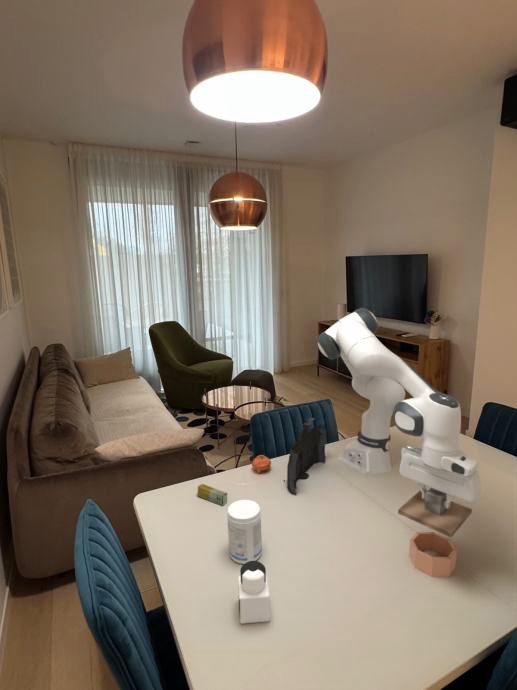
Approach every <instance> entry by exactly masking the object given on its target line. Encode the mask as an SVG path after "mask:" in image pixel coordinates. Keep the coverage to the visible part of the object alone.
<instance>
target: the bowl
mask: <svg viewBox="0 0 517 690" xmlns="http://www.w3.org/2000/svg"><path fill="white" fill-rule="evenodd" d="M408 550H409V551H408V556H409V558H410V561H411V563H412V565H413V567H414V569H416V570H418V571H420V572H421V573H423V574H426V575H427V576H429V577H431V578H448V577H450V576H451V574H452V573H453V572H454V570H455V569H456V568H457V567H456V566H457V553H458V549H457V548H456V547H455V545H454V544H453V542H452V541H451V540H450V539H449V537H446V536H443V535H442V534H441V535H440V534H439V533H436V532H434V531H416V533H415V534H414V535H413V536H412V537H411V538H410V539H409V548H408Z"/></svg>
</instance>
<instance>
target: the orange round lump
mask: <svg viewBox="0 0 517 690" xmlns="http://www.w3.org/2000/svg"><path fill="white" fill-rule="evenodd" d="M271 465H272V461H271V459H270V458H269V457H267V456H265V455H263V454H259V455H257V456H256V457H255V458H254V459H253V460H252V462H251V466H252V467H253V468H254V469H255V470H256V471H257V473H258V474H261V471H265V470H267V469H268V471H270V470H271Z"/></svg>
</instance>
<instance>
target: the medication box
mask: <svg viewBox="0 0 517 690" xmlns="http://www.w3.org/2000/svg"><path fill="white" fill-rule="evenodd" d="M197 497H199V498H201V499H203V500H206V501H208V502H212V503H214V504H216V505H218V506H221V507H224V506H225V505H227V503H228V492H225V491H222V490H219V489H217V488H215V487H211V486H210V485H209V486H208V485H207V484H203V483H201V484H199V485H198V486H197Z"/></svg>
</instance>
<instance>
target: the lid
mask: <svg viewBox="0 0 517 690" xmlns="http://www.w3.org/2000/svg"><path fill="white" fill-rule="evenodd" d="M444 499H448V497H447V494H446V493H443V492H441V491H438V490H436V489H433V488H430V487H429V489H427V492H426V495H425V499H423V498H422V492H421V490H420V489H419V491H417V493H415V494H414V495H413V496H412V497H411V498H410V499H408V500H407V501H405V503H404V504H403V505H401V506H400V507H399V508H398V510H397V514H398V515H400V516H403V517H405V518H407V519H410V520H411V521H414V522H416V523H418V524H420V525H423V526H425V527H427V528H429V529H432V530H434V531H436V532H438V533H440V534H441V535H444V536H447V537H448V538H453V536H454V535H455V534H456V533H457V532H458V530H459V529H460V528H461V526H462V525H463V524H464V523H465V521H467V519H468V518H469V517H470V515H472V513H473V512H472V511H473V509H472V508H469V507H468V506H465V505H462V504H460V503H457V502H454V501H452V500H451V501H450V507H449V508H448V509H447V508H445V507H442V501H443V500H444Z"/></svg>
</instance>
